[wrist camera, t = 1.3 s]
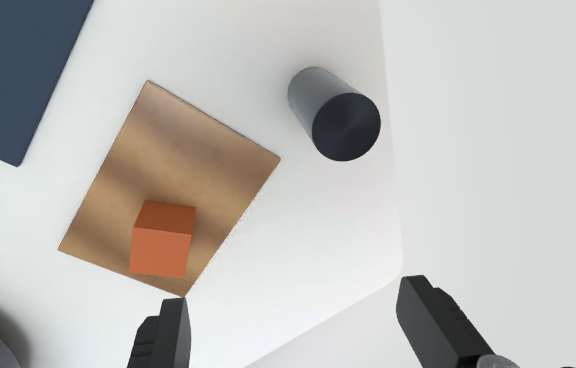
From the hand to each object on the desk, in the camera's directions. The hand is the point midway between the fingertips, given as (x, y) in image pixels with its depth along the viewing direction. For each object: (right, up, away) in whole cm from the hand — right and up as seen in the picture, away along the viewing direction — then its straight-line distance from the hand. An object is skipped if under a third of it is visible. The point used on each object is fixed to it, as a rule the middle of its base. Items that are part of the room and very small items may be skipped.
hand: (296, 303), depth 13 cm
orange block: (-13, 0, +24) cm, 27 cm away
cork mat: (-12, +3, +24) cm, 27 cm away
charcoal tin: (+2, +13, +21) cm, 25 cm away
